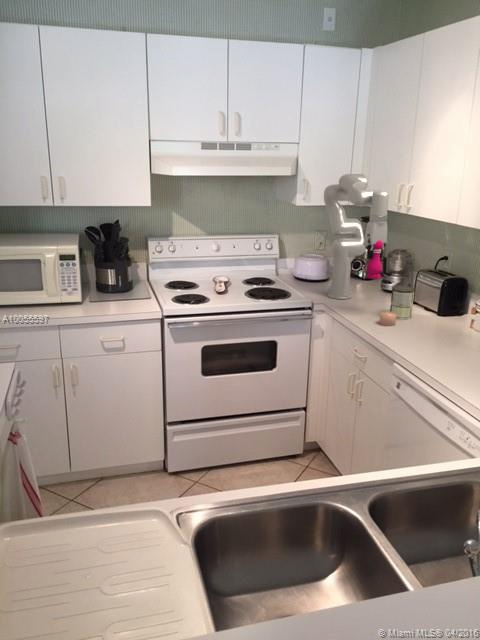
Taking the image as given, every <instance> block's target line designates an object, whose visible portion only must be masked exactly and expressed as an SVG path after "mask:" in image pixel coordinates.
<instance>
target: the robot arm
mask: <svg viewBox="0 0 480 640" xmlns="http://www.w3.org/2000/svg"><path fill="white" fill-rule="evenodd" d="M368 179H369V178H368V177H367V176H366V175H365V174H363V173H346V174H343V175H341V176H340V177H339V179H338V184H330V185H328V186H326V187H325V188H324V192H323V201H324V205H325V207H326V210H327V213H328V218H329V223H330V227H331V232H332V235H333V236H334V237H338V238H336V239H335V240H333V241H332V244H331V250H332V272H331V273H332V274H331V285H329V286H328V287H327V288H326V289H327V290H328V291H329V292H328V293H327V297H328V298H331V299H336V300H348V299H351V298H352V293H349V292H350V283H351V281H350V280H351V279H350V278H351V269H352V268H351V267H352V265H351V262H350V259H349V258H348V257H354V256H362V255H364V253H365V252H366V251H367V255H366V258H367V259H368V260H370V259H373V252H374V251H372V250H373V245H374V244H376V242H377V241H379V240H381V241H382V242H383V246H382V248H381V253H380V259H382V258H383V253H384V252H383V251H384V249H385V247H386V245H387V244H388V243H389V240H388V222H387V221H388V208H389V199H390V194H389V192H387V191H382V190H380V189H367V188H368V186H369V180H368ZM340 202H350V203H351V204H352V205H354V206H356V207H370V212H369V221H367V225H366V229H365V234H364V231H363V226H362V223H361V221H360V220H359V219H357V218H355V217H354V218H352V217H351V218H348V217H347V216H346V211H345V209H344V207H343V205H342V204H341V203H340ZM370 245H371V247H370Z"/></svg>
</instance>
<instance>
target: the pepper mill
mask: <svg viewBox="0 0 480 640" xmlns="http://www.w3.org/2000/svg"><path fill="white" fill-rule="evenodd" d="M382 246H383V242H382V241H381V240H379V241H377V242H376V244H374V245H373V250H372V251H374V252H373V259H369V261H368V263H367V265H366V271H367V274H366V278H367V279H371V280H379V279H381V276H382V274H381V272H382V271H383V265H382V261H381V260H380V259H381V258H380V253H381V248H382ZM370 247H371V245H370Z"/></svg>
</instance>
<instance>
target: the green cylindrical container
mask: <svg viewBox="0 0 480 640" xmlns="http://www.w3.org/2000/svg"><path fill="white" fill-rule="evenodd" d="M415 290H416V288H415V287H413V286H410V285H403V284H402V285H401V284H400V285H397V284H396V285H393V286H392V287H391V296H390V308H389V311H390V312H394V313H396V320H402V321H403V320H410V319H412V314H413V305H414V297H415V296H414V295H415Z"/></svg>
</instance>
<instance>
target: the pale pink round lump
mask: <svg viewBox="0 0 480 640" xmlns="http://www.w3.org/2000/svg"><path fill="white" fill-rule="evenodd" d="M379 313H380V314H379V325H381V326H384V327H394V326H395V325H396V320H397V319H396V313H394V312H390V310H387V311H386V310H383V311H381V312H379Z"/></svg>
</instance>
